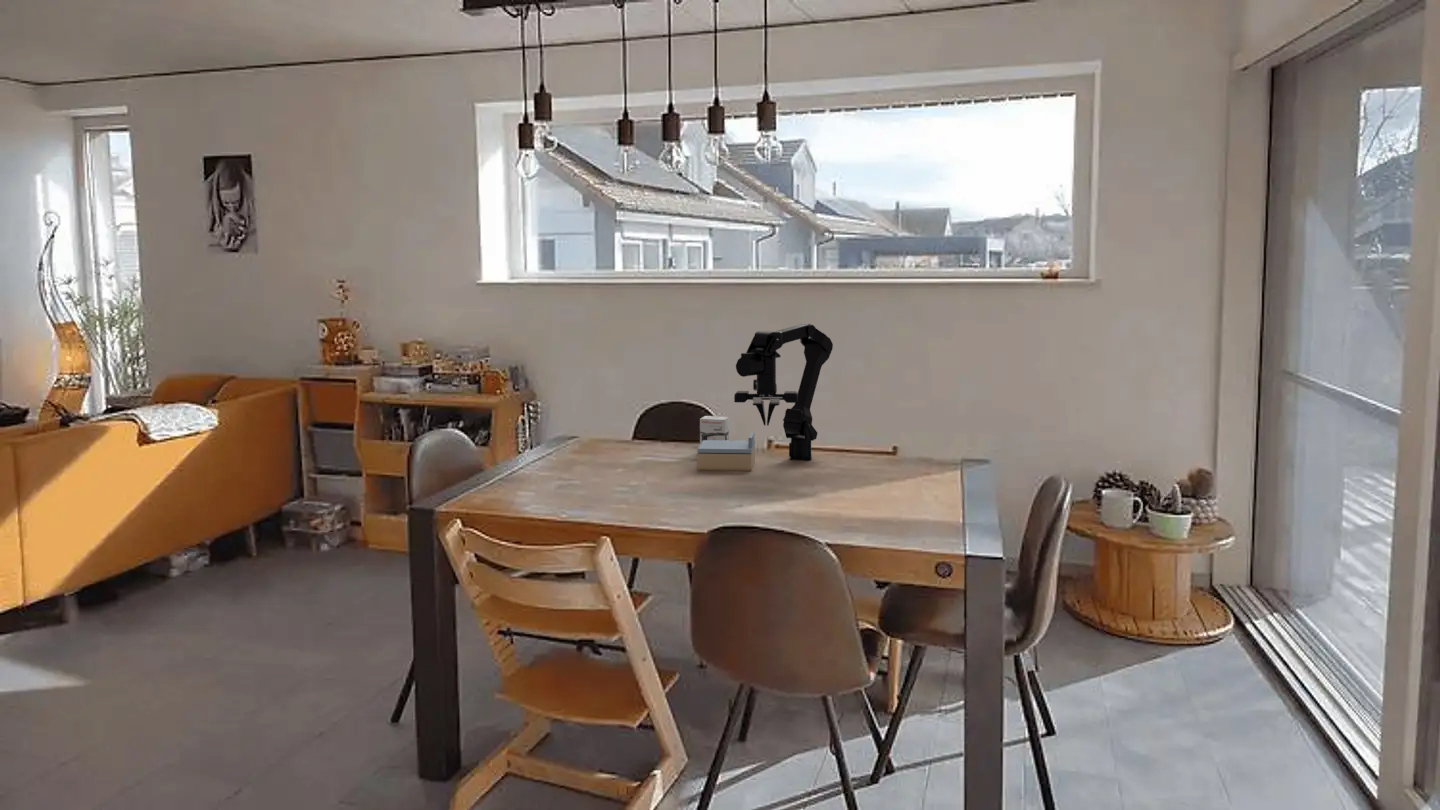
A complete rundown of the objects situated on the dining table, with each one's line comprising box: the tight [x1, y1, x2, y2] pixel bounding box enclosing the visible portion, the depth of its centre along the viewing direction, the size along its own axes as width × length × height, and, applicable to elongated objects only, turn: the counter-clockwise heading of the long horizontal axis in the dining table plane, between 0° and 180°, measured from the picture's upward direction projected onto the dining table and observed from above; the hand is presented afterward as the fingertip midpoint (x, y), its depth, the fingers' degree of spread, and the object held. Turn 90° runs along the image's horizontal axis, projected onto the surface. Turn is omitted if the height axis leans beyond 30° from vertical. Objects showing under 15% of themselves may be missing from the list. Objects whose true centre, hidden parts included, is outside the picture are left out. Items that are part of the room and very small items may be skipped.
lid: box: [697, 431, 756, 454], centre depth 315 cm, size 16×14×4 cm
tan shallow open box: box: [697, 445, 756, 472], centre depth 316 cm, size 16×14×5 cm
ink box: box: [699, 415, 730, 445], centre depth 335 cm, size 8×5×12 cm, turn 73°
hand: (766, 425), depth 313 cm, fingers closed
